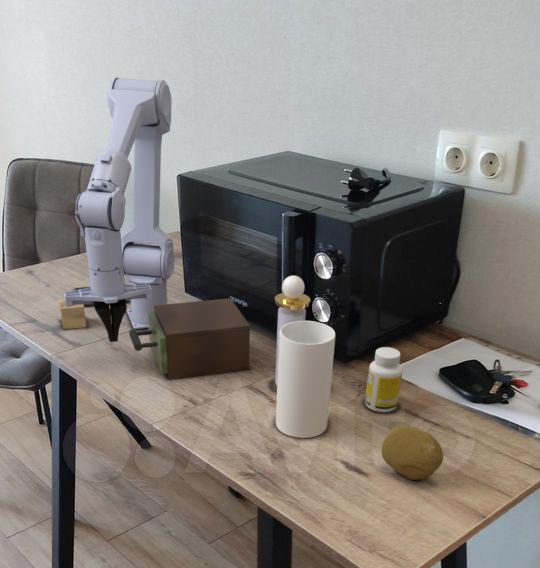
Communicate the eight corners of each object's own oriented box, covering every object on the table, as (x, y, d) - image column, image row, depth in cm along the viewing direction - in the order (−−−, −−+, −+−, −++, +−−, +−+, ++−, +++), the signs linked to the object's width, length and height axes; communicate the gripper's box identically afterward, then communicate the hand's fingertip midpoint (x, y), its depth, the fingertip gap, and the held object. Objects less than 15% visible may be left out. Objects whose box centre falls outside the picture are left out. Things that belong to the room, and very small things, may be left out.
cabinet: (169, 379, 123) (167, 334, 118) (155, 348, 133) (153, 305, 128) (249, 369, 127) (250, 325, 122) (230, 339, 137) (230, 298, 132)
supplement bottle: (403, 405, 118) (411, 352, 113) (384, 417, 115) (392, 363, 109) (377, 393, 121) (384, 341, 116) (358, 404, 118) (364, 352, 112)
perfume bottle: (311, 389, 122) (319, 278, 111) (283, 397, 119) (289, 285, 108) (291, 375, 125) (297, 267, 114) (264, 383, 123) (268, 273, 112)
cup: (300, 404, 117) (306, 316, 108) (337, 424, 112) (347, 333, 103) (264, 422, 112) (268, 330, 103) (302, 444, 107) (309, 349, 98)
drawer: (138, 376, 121) (135, 341, 118) (128, 348, 130) (125, 314, 127) (236, 364, 126) (236, 330, 122) (219, 338, 135) (219, 305, 131)
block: (61, 320, 142) (58, 300, 139) (84, 318, 143) (81, 297, 140) (63, 329, 138) (60, 308, 136) (86, 327, 139) (83, 306, 137)
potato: (376, 461, 104) (383, 415, 100) (426, 460, 105) (435, 415, 100) (386, 490, 98) (393, 443, 94) (439, 489, 99) (449, 442, 95)
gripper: (62, 277, 112) (73, 354, 119) (153, 270, 116) (158, 344, 123) (59, 262, 117) (69, 336, 125) (146, 255, 121) (150, 327, 129)
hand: (113, 339), depth 124 cm, fingers closed
